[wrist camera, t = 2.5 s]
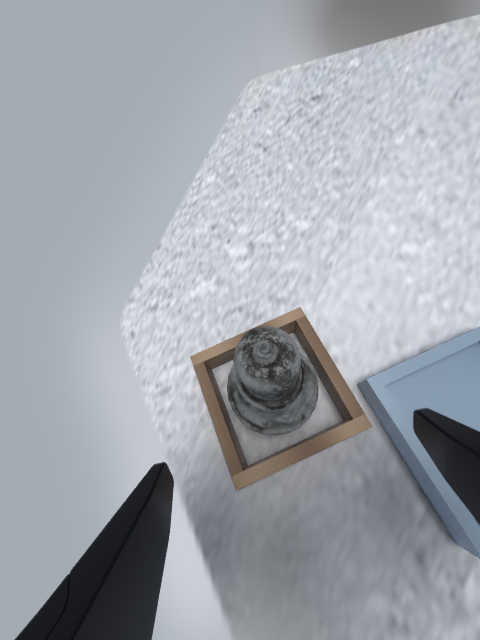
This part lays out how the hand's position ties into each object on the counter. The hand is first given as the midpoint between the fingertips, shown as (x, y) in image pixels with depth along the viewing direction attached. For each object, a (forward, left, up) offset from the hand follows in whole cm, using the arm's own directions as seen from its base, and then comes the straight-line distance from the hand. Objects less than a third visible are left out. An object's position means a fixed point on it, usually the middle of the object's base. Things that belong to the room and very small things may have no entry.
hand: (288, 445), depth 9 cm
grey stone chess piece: (+1, +3, -10) cm, 11 cm away
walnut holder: (+1, +3, -10) cm, 11 cm away
